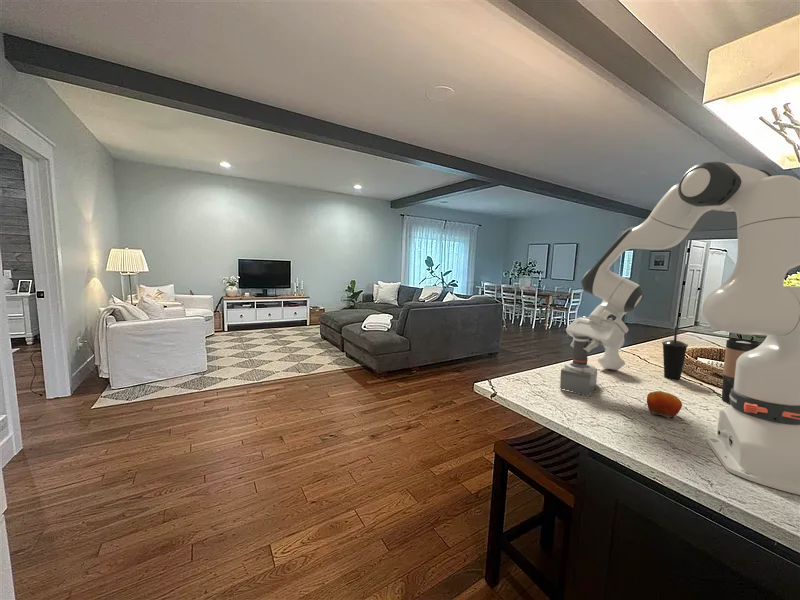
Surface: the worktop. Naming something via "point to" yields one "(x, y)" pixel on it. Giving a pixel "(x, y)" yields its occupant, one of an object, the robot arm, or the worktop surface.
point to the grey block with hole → (578, 378)
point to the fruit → (663, 404)
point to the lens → (580, 349)
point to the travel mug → (734, 362)
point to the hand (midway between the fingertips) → (579, 348)
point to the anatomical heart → (612, 357)
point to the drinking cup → (673, 357)
